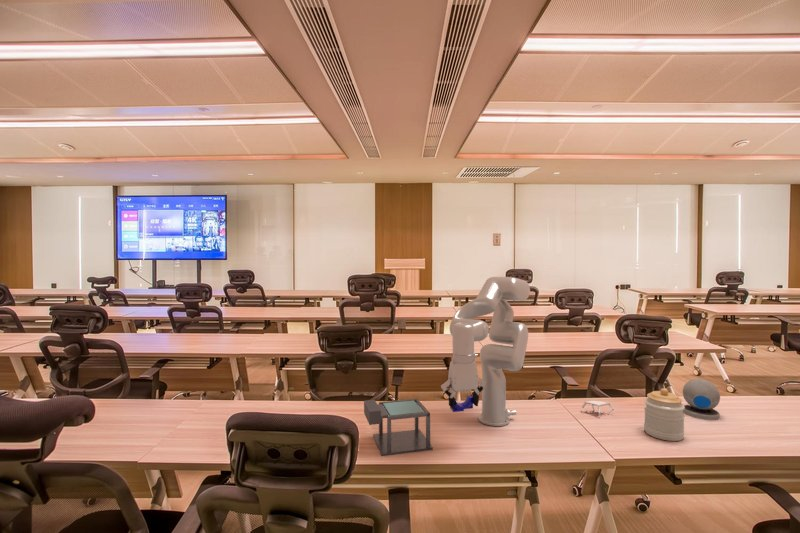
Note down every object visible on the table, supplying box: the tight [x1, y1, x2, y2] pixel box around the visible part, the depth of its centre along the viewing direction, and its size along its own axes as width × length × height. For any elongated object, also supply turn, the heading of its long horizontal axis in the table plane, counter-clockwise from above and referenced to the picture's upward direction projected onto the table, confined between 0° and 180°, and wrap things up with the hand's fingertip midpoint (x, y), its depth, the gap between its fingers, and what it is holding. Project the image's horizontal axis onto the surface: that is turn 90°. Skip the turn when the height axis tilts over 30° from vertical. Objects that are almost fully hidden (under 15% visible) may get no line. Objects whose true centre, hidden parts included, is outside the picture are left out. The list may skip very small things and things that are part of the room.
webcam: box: [682, 378, 721, 421], centre depth 175 cm, size 13×13×15 cm
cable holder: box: [449, 395, 474, 413], centre depth 146 cm, size 8×4×4 cm, turn 100°
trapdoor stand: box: [372, 398, 434, 457], centre depth 148 cm, size 18×16×13 cm
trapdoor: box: [363, 399, 424, 426], centre depth 147 cm, size 19×12×5 cm, turn 105°
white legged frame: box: [581, 400, 615, 418], centre depth 175 cm, size 12×8×5 cm
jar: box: [643, 387, 685, 442], centre depth 155 cm, size 13×13×18 cm
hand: (463, 406), depth 145 cm, fingers closed on cable holder, 8 cm apart
